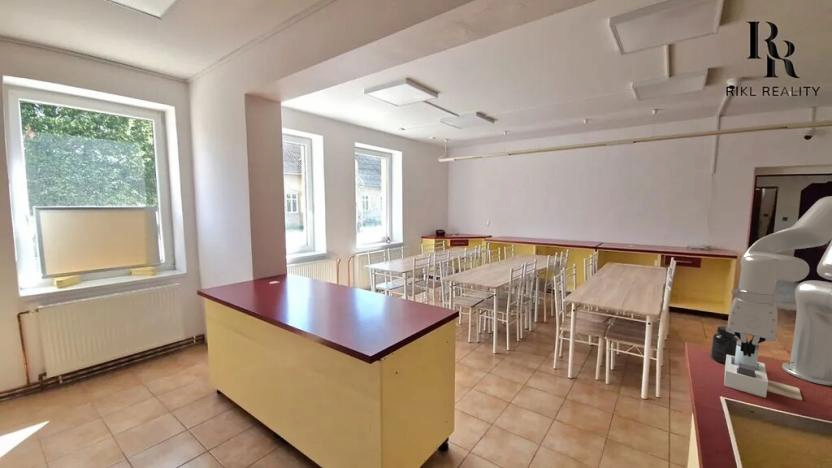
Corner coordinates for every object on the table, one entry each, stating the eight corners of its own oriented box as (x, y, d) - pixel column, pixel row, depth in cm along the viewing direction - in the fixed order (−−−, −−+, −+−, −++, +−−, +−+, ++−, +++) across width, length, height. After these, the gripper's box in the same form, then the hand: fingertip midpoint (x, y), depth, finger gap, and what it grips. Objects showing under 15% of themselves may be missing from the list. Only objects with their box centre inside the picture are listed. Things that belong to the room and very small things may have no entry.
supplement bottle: (741, 366, 114) (745, 333, 113) (718, 364, 115) (722, 332, 114) (727, 356, 121) (731, 325, 119) (706, 354, 122) (709, 324, 121)
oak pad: (765, 381, 105) (765, 379, 105) (798, 389, 100) (798, 388, 100) (767, 390, 100) (767, 389, 100) (802, 400, 95) (802, 398, 95)
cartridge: (732, 371, 111) (736, 338, 109) (754, 377, 107) (758, 343, 106) (732, 378, 107) (736, 343, 105) (755, 384, 104) (759, 348, 102)
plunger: (737, 373, 104) (739, 362, 103) (753, 377, 101) (754, 366, 101) (737, 377, 101) (739, 367, 101) (753, 381, 99) (755, 371, 99)
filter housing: (724, 367, 113) (726, 354, 112) (762, 377, 107) (764, 363, 106) (724, 385, 103) (726, 370, 102) (765, 397, 97) (767, 382, 96)
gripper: (720, 294, 100) (713, 350, 103) (794, 306, 90) (784, 368, 92) (721, 289, 106) (714, 342, 108) (791, 299, 96) (781, 358, 98)
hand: (746, 354), depth 100 cm, fingers closed
